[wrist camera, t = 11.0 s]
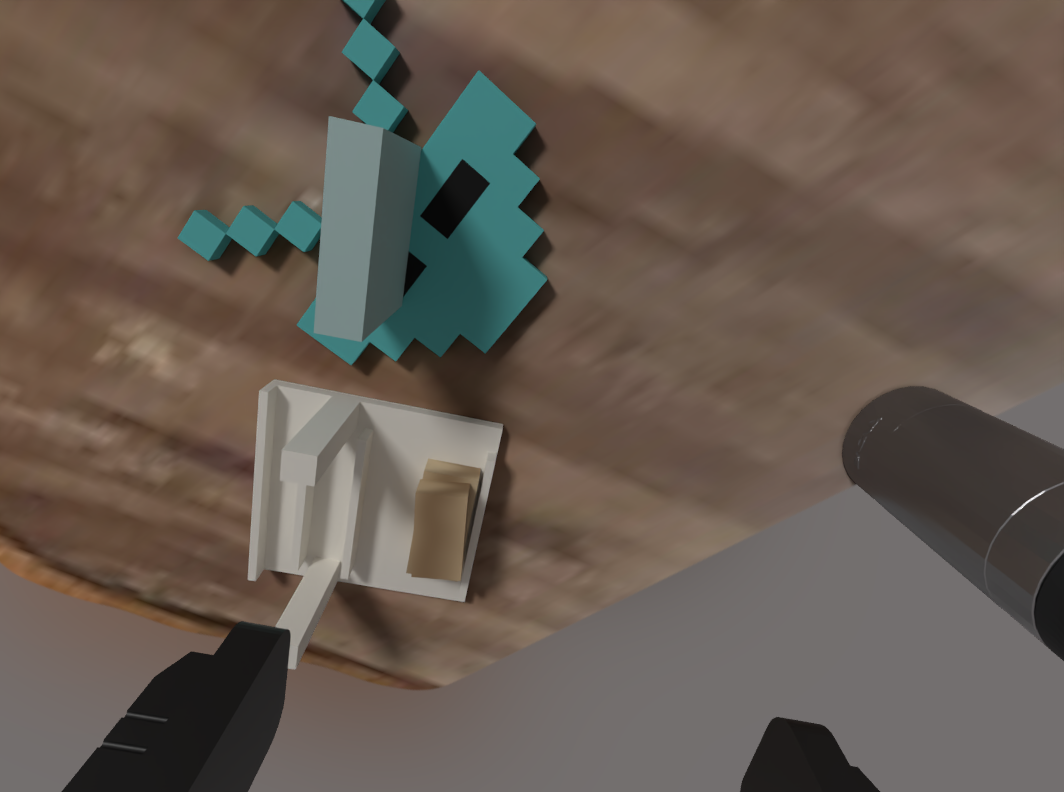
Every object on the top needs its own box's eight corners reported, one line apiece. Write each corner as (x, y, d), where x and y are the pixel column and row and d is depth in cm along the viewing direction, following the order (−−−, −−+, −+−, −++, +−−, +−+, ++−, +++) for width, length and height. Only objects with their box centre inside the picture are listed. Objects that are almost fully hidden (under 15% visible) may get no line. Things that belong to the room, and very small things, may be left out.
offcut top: (470, 483, 40) (467, 497, 38) (463, 564, 43) (460, 580, 41) (420, 479, 40) (415, 492, 38) (416, 560, 42) (411, 576, 41)
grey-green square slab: (421, 147, 34) (383, 127, 25) (401, 305, 38) (361, 341, 28) (382, 138, 34) (328, 116, 25) (366, 299, 37) (313, 333, 28)
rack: (503, 424, 42) (498, 489, 33) (465, 594, 47) (452, 692, 38) (274, 379, 40) (199, 434, 31) (261, 560, 46) (194, 654, 36)
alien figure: (196, 235, 38) (432, 410, 42) (177, 238, 36) (428, 421, 40) (363, -32, 33) (610, 198, 38) (352, -48, 31) (615, 198, 35)
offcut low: (480, 468, 42) (478, 480, 40) (460, 565, 45) (457, 581, 43) (428, 458, 42) (423, 470, 40) (411, 557, 45) (406, 573, 43)
